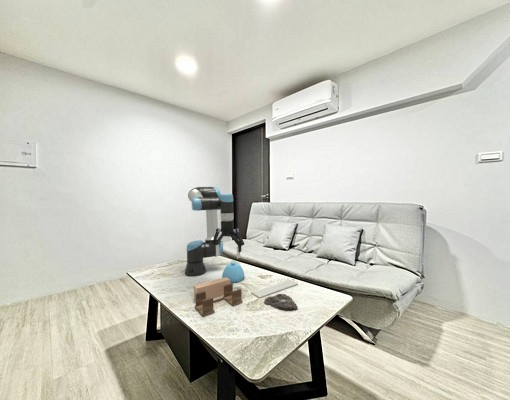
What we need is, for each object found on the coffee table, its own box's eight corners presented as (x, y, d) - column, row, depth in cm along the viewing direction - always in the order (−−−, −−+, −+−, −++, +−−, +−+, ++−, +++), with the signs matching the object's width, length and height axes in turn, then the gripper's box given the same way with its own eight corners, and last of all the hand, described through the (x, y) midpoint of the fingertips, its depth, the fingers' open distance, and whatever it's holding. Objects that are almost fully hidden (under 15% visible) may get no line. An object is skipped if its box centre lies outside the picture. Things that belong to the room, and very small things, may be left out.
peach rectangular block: (194, 299, 119) (193, 285, 119) (226, 290, 131) (226, 277, 131) (197, 303, 115) (197, 288, 115) (230, 293, 127) (230, 279, 126)
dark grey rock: (275, 293, 125) (260, 304, 113) (275, 287, 125) (259, 296, 113) (306, 303, 113) (292, 315, 102) (306, 295, 113) (292, 307, 102)
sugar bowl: (218, 278, 149) (217, 262, 149) (236, 273, 158) (236, 258, 158) (229, 285, 137) (229, 267, 137) (248, 279, 147) (248, 262, 146)
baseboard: (249, 293, 126) (259, 299, 118) (249, 288, 126) (259, 294, 118) (287, 280, 144) (298, 285, 136) (287, 276, 144) (298, 281, 136)
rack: (194, 308, 110) (194, 293, 110) (232, 295, 122) (232, 283, 122) (202, 317, 101) (202, 301, 101) (242, 302, 114) (242, 289, 114)
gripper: (205, 220, 126) (206, 256, 127) (244, 221, 118) (245, 260, 118) (212, 219, 134) (212, 253, 134) (249, 219, 125) (250, 256, 125)
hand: (228, 256), depth 126 cm, fingers open, 13 cm apart
